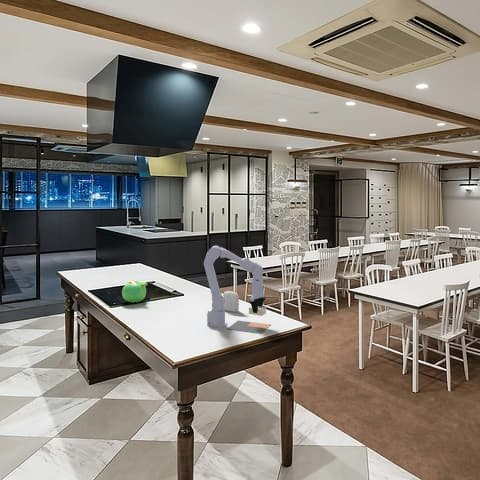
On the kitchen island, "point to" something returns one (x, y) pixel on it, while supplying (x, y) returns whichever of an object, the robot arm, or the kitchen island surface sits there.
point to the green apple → (134, 291)
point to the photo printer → (231, 301)
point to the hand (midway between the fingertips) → (257, 311)
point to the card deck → (260, 311)
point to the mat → (249, 327)
